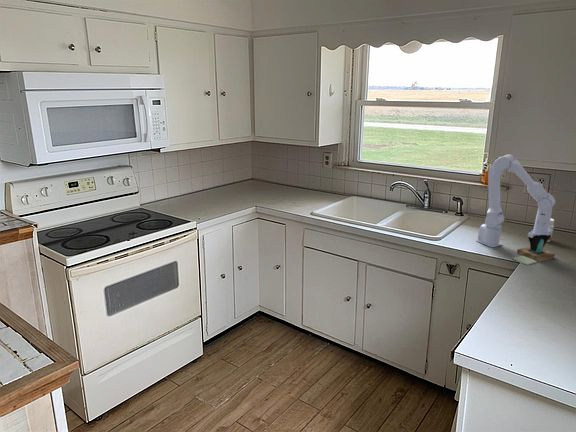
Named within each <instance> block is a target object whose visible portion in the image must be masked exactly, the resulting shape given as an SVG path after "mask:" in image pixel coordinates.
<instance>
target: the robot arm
mask: <svg viewBox="0 0 576 432" xmlns="http://www.w3.org/2000/svg"><path fill="white" fill-rule="evenodd" d="M506 170H507V173H513V174H515V175H516V176H517V177H518V178H519V179H520V180H521V181H522V182H523V184H525V185H526V191H527V192H528V194H529V195H531V197H532V198H533V200H535V201H536V202H537V212H536V216H535V221H534V226H533V229H532V230H531V231H529V232H528V234H527V237H528V241H529V244H530V245H529V246H530V248H531V250H532V251H536V249H537V246H538V244H539V242H540V240H541V239H544V243H543V248H542V249H544V247H545V245H546V243H547V241H548V239H549V238H550V237H551V235H550V233H552V229H550V228H549V224H550V219H551V218H552V214H553V213H552V212H553V207H554V206H555V204H556V199H555V196H554V195H552V194H550V192H548V191H547V190H546V189H545V188H544V185H543V183H540V182H538V181H534V179H533V178H532V177H531V176H530V175H529V173H528V171H526V169H525V168H524V167H523V165H522V163H520V161H519V160H518V159H517V158H516V157H515V156H514V155H513V154H509V153H508V154H505V155H503V156H500V157H497V159H495V160H494V161H493V163H492V165H491V167H490V168H489V169H488V173H487V178H488V180H487V183H488V185H487V186H488V189H487V190H488V191H487V192H488V210H487V212H486V217H485V219H484V223H483V224H481V225H480V227H479V229H478V235H477V239H476V241H475V242H478V243H480V244H483V245H485V246H487V247H489V248H496V247H500V246H503V243H502V242H500V238H501V233H502V228H503V227H502V224H503V223H504V221H505V215H504V213H503V209H502V207H501V175H502V174H503V173H504V172H506Z"/></svg>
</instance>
